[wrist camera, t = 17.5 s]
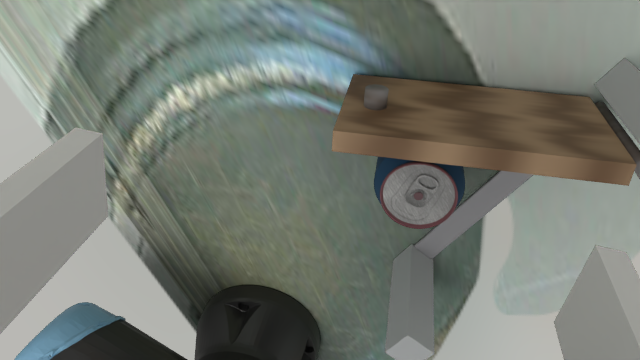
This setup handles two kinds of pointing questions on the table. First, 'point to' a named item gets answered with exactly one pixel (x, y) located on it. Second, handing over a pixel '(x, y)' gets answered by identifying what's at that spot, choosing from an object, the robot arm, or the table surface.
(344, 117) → the door
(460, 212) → the gray u-shaped frame
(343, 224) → the table surface
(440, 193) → the soda can
